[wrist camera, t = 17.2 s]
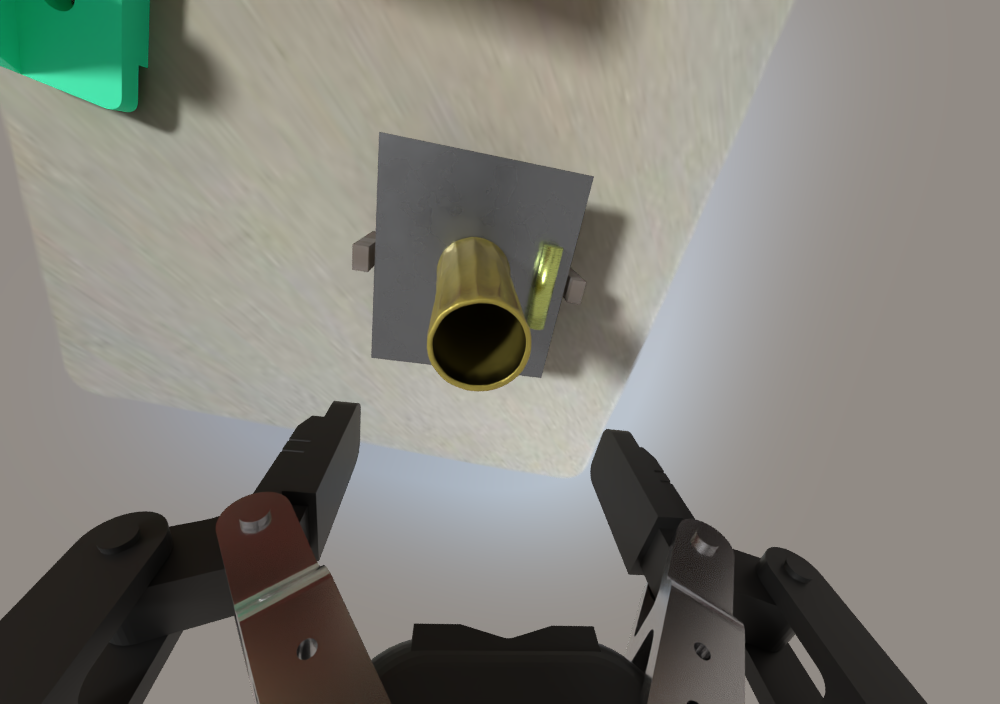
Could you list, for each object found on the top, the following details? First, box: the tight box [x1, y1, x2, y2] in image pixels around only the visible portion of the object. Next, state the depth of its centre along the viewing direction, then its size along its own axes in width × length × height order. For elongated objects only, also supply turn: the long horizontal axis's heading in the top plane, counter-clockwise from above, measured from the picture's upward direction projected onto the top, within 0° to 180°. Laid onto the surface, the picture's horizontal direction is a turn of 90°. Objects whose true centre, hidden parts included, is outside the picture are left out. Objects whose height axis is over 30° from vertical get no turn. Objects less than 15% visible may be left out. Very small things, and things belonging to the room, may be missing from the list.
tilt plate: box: [371, 132, 594, 378], centre depth 31 cm, size 18×16×3 cm
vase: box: [427, 237, 531, 391], centre depth 25 cm, size 6×6×14 cm
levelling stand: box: [352, 231, 586, 304], centre depth 34 cm, size 14×19×7 cm
